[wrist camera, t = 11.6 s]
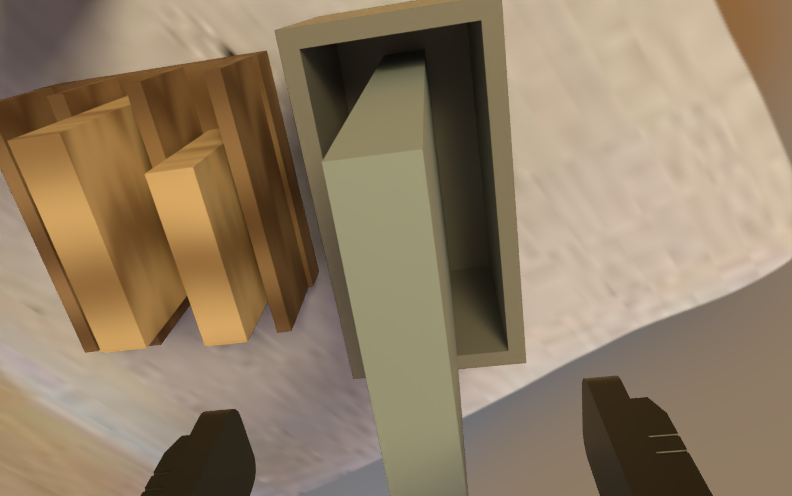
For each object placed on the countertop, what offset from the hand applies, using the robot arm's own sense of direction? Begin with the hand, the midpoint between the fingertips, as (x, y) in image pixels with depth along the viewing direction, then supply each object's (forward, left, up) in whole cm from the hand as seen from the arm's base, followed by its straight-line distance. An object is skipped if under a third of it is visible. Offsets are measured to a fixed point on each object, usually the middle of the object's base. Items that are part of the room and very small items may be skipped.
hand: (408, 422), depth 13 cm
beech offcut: (+1, -10, -21) cm, 23 cm away
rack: (0, -14, -23) cm, 27 cm away
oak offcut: (-1, -14, -21) cm, 25 cm away
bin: (0, 0, -23) cm, 23 cm away
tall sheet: (0, 0, -22) cm, 22 cm away
